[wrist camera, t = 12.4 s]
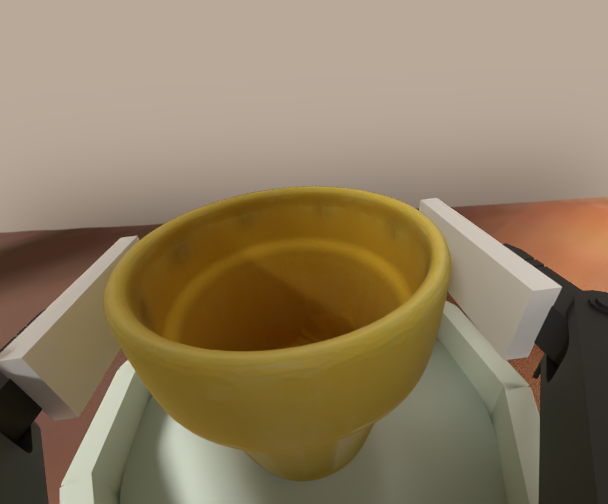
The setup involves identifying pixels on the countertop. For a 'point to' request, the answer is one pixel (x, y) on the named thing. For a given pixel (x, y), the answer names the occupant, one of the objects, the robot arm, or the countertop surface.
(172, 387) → the plant pot
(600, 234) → the countertop surface
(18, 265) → the countertop surface
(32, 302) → the countertop surface
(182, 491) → the sage basin
